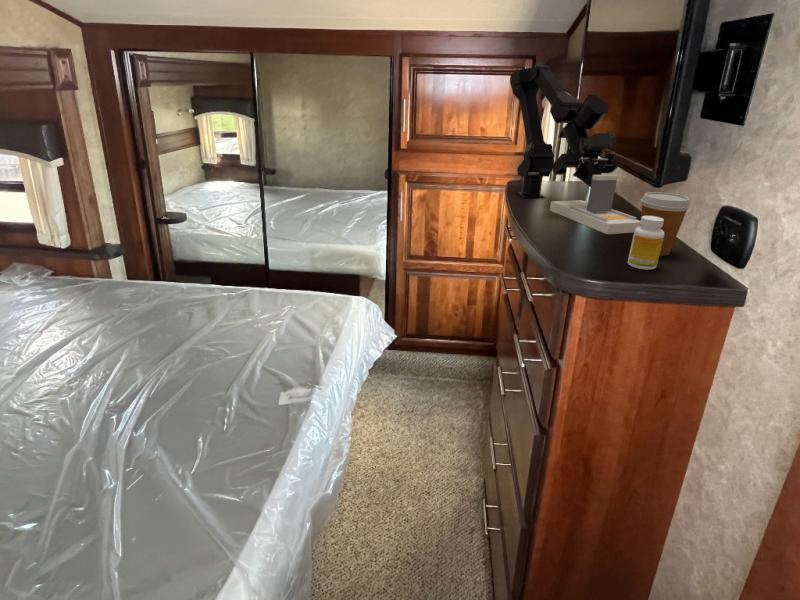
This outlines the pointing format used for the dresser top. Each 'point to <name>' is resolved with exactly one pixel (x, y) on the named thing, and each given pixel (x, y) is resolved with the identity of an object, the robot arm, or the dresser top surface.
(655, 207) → the disposable coffee cup
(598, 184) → the fader tab
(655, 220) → the supplement bottle
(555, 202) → the white slider track base
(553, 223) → the dresser top surface
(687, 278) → the dresser top surface
